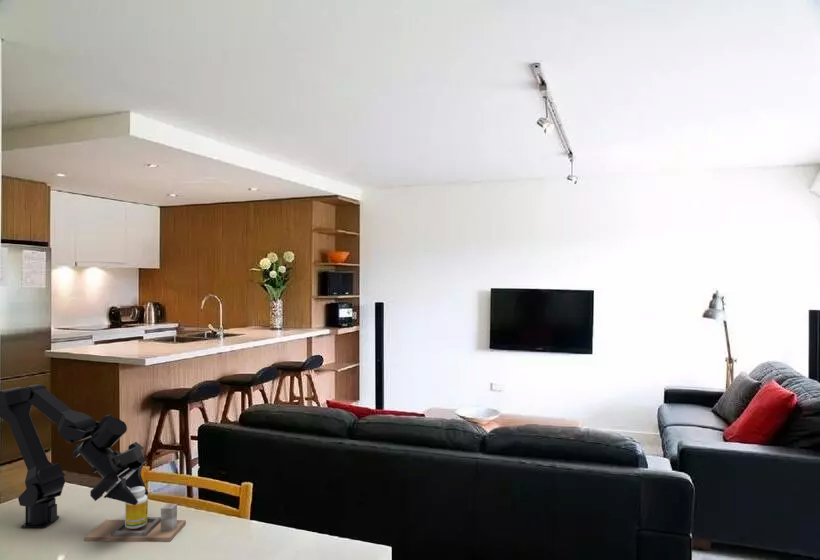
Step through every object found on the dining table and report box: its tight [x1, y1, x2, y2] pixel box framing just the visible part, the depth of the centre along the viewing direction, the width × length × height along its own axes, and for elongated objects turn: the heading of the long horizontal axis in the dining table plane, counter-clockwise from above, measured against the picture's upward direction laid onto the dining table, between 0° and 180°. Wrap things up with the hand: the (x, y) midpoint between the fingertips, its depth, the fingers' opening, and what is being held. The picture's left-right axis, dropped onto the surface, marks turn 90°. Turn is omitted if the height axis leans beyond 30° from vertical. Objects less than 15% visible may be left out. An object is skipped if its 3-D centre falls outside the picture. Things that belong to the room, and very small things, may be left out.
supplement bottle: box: [124, 486, 149, 529], centre depth 143 cm, size 5×5×10 cm
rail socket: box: [84, 503, 187, 542], centre depth 143 cm, size 22×10×7 cm, turn 91°
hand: (141, 499), depth 143 cm, fingers closed on supplement bottle, 5 cm apart
